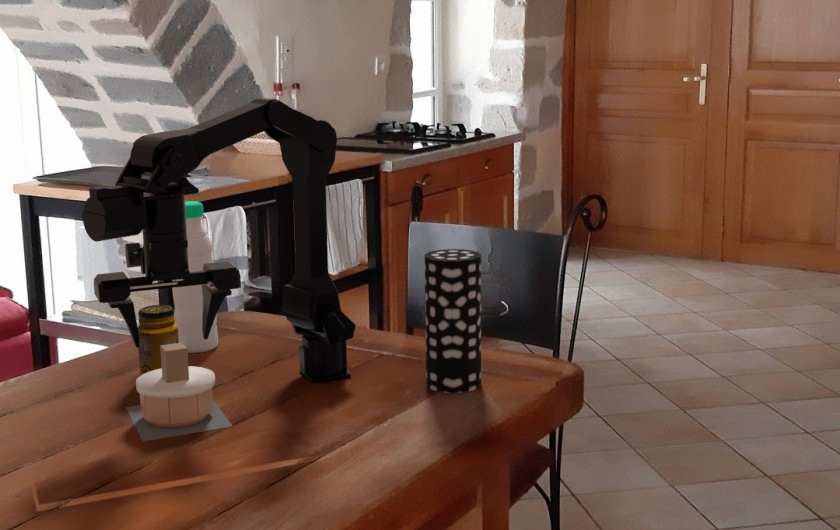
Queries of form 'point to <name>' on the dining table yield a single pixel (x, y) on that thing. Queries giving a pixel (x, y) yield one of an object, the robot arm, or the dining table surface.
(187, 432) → the mat
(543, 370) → the dining table surface
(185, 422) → the bowl
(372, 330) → the dining table surface
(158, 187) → the robot arm
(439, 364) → the spotted tube
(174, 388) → the lid
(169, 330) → the condiment
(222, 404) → the dining table surface
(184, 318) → the water bottle
